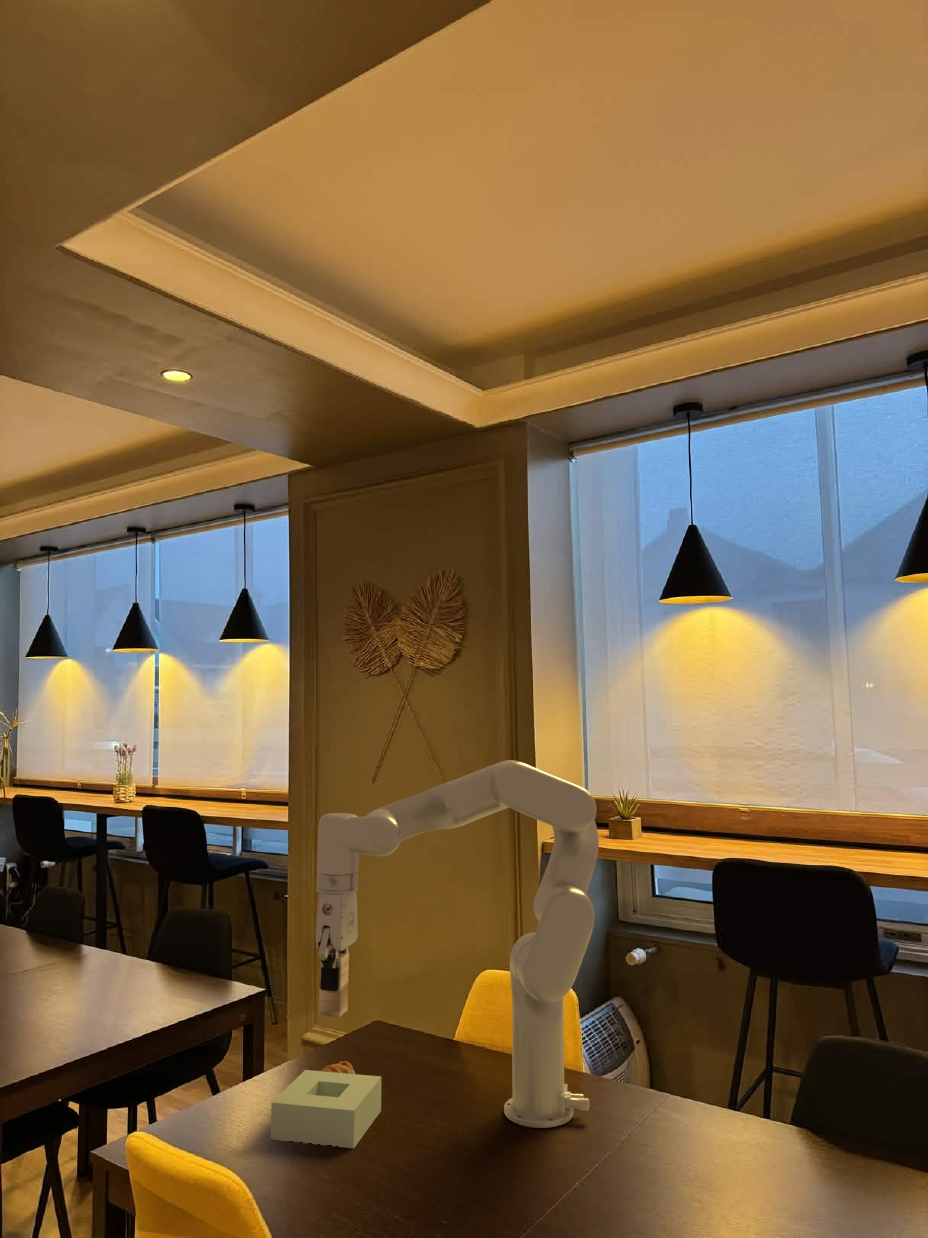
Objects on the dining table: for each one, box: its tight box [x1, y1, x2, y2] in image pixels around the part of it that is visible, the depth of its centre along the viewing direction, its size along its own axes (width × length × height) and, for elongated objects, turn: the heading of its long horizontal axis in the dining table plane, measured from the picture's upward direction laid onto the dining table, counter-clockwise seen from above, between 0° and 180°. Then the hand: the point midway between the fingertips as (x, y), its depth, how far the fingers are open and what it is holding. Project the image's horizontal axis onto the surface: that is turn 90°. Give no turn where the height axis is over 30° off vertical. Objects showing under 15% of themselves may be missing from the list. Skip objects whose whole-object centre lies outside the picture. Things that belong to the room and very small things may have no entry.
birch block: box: [318, 953, 350, 1018], centre depth 162 cm, size 4×4×10 cm
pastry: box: [320, 1060, 356, 1074], centre depth 176 cm, size 9×7×4 cm
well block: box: [270, 1069, 382, 1149], centre depth 159 cm, size 15×15×6 cm
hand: (334, 985), depth 162 cm, fingers closed on birch block, 4 cm apart
